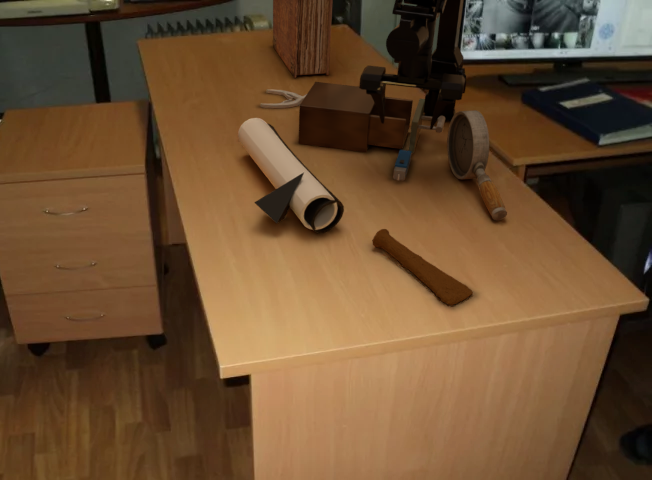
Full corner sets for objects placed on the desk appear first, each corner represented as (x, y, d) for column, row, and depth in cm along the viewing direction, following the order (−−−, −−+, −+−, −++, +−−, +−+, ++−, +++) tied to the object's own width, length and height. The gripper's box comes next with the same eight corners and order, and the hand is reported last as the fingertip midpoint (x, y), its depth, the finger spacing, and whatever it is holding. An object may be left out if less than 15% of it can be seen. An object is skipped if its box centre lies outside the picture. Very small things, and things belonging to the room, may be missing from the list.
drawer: (443, 131, 159) (448, 101, 155) (437, 156, 149) (442, 125, 145) (360, 121, 163) (362, 91, 159) (349, 145, 153) (351, 114, 149)
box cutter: (398, 160, 149) (400, 148, 148) (410, 161, 149) (411, 149, 147) (391, 181, 142) (393, 168, 140) (403, 183, 141) (405, 170, 140)
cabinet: (377, 126, 163) (380, 88, 158) (366, 152, 152) (369, 113, 147) (313, 118, 166) (315, 81, 161) (298, 143, 155) (299, 105, 150)
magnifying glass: (519, 188, 124) (473, 96, 139) (503, 190, 124) (458, 97, 139) (497, 239, 135) (456, 147, 150) (481, 240, 134) (442, 148, 149)
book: (329, 76, 188) (335, -50, 171) (294, 78, 186) (297, -48, 169) (304, 44, 208) (307, -70, 191) (272, 47, 206) (273, -69, 189)
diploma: (256, 166, 154) (205, 137, 146) (281, 130, 151) (231, 98, 143) (322, 253, 127) (265, 222, 119) (355, 210, 124) (298, 177, 116)
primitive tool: (474, 294, 112) (477, 275, 110) (450, 308, 109) (454, 289, 107) (384, 241, 124) (386, 223, 122) (361, 252, 121) (362, 234, 119)
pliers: (266, 85, 178) (328, 89, 176) (266, 91, 179) (327, 95, 177) (260, 100, 170) (324, 105, 168) (260, 107, 171) (323, 111, 169)
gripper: (472, 35, 135) (459, 115, 144) (372, 26, 139) (366, 104, 148) (468, 55, 126) (455, 138, 135) (362, 44, 130) (355, 126, 139)
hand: (406, 125), depth 140 cm, fingers open, 9 cm apart
